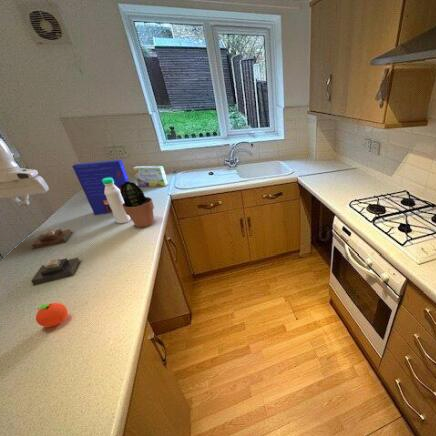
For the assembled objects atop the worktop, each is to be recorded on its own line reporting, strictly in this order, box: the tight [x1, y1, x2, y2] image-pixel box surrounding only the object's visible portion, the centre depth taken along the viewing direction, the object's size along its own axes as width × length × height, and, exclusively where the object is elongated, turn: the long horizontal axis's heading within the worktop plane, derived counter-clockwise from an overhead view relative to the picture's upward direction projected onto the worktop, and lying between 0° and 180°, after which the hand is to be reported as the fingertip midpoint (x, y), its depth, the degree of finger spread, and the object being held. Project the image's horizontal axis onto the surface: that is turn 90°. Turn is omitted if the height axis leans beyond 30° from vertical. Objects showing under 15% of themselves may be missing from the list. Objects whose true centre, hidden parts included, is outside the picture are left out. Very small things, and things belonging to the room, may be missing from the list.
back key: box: [42, 228, 57, 236], centre depth 116 cm, size 4×4×2 cm
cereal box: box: [72, 158, 130, 216], centre depth 142 cm, size 22×6×30 cm, turn 111°
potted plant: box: [121, 181, 155, 228], centre depth 126 cm, size 14×14×25 cm
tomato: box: [35, 302, 68, 328], centre depth 74 cm, size 8×7×7 cm
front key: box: [44, 258, 61, 269], centre depth 95 cm, size 4×4×2 cm
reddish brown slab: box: [31, 228, 73, 250], centre depth 118 cm, size 12×10×4 cm
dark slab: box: [30, 257, 81, 286], centre depth 96 cm, size 12×10×4 cm
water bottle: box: [102, 178, 132, 224], centre depth 130 cm, size 7×7×25 cm
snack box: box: [132, 165, 169, 187], centre depth 183 cm, size 21×6×15 cm, turn 88°
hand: (24, 205), depth 106 cm, fingers closed
